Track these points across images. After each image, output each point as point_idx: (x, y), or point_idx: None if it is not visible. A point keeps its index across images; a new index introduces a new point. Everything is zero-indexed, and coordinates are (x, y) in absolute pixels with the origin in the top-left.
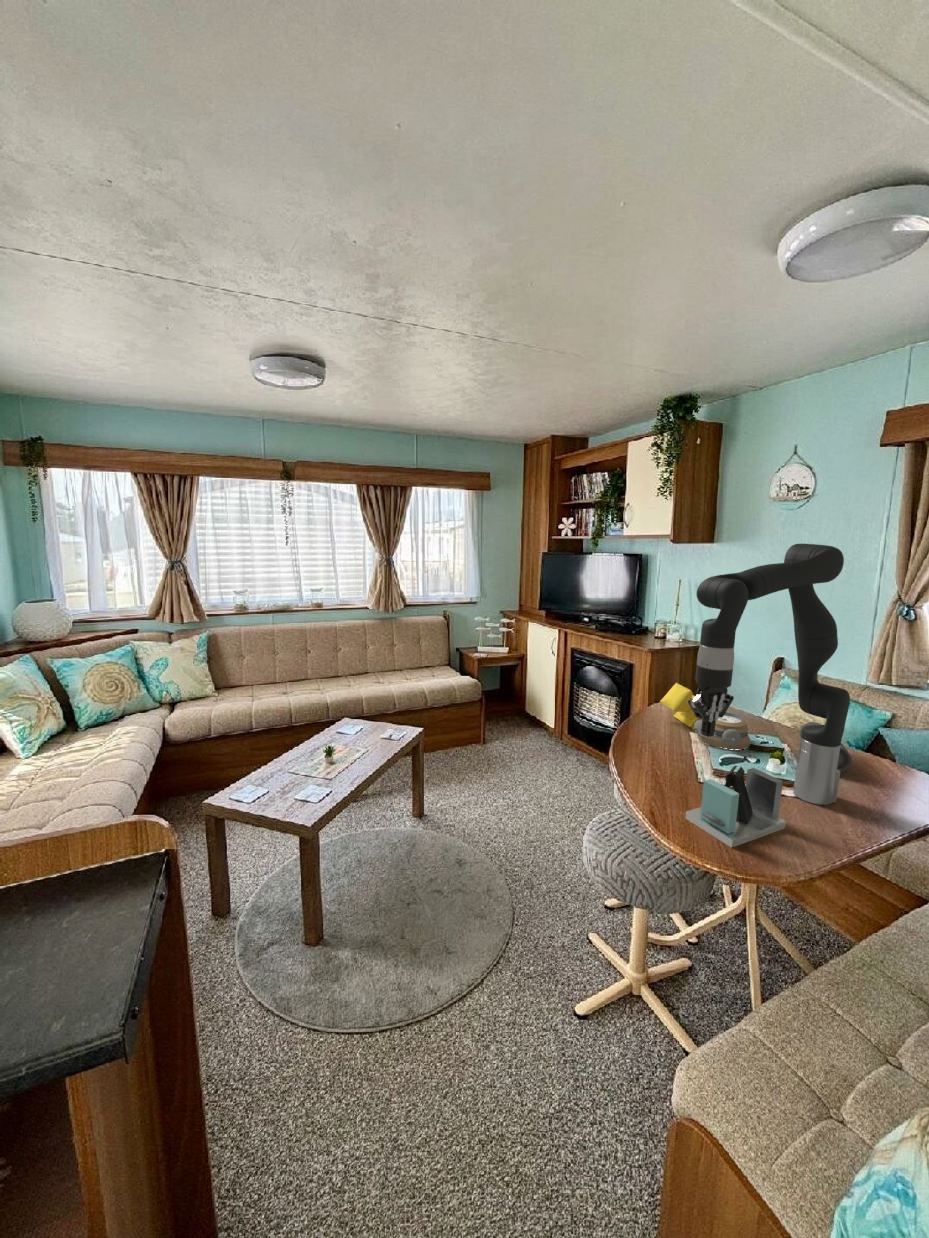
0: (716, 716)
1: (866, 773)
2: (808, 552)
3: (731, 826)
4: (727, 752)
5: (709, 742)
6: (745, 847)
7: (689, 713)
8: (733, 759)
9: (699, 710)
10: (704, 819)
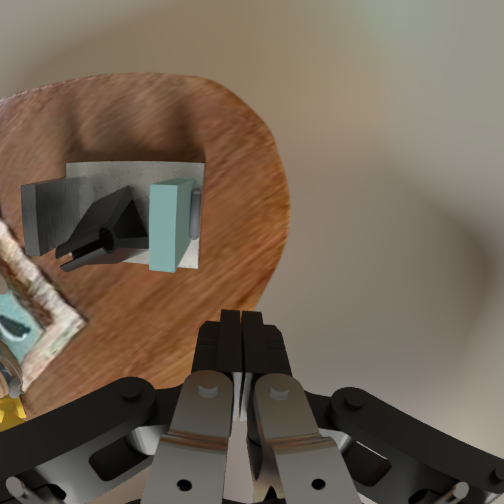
0: (210, 403)
1: None
2: None
3: (184, 179)
4: (6, 340)
5: (15, 365)
6: (182, 152)
7: (11, 408)
8: (8, 326)
9: (463, 442)
10: None
